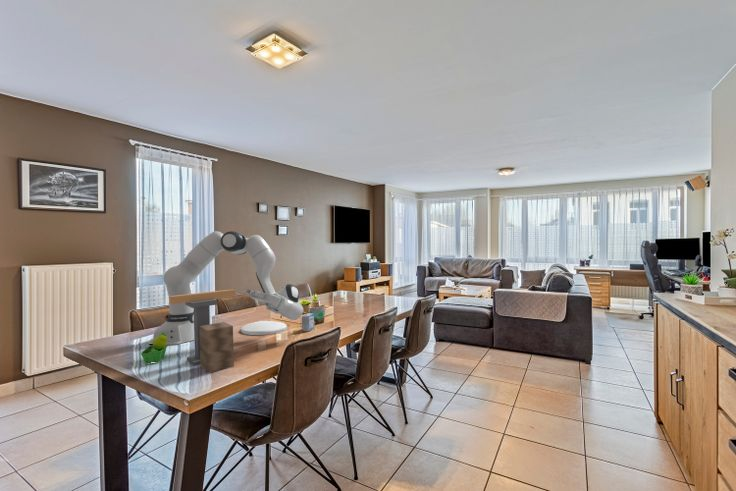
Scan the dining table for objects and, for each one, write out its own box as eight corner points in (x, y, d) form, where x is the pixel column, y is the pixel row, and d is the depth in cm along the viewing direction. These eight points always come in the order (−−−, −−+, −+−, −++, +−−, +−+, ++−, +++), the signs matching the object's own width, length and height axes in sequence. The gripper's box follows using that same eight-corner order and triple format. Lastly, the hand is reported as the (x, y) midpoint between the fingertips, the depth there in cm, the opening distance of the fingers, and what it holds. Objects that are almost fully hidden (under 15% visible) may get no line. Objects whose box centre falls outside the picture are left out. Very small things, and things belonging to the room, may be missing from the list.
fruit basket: (149, 357, 159) (148, 332, 159) (171, 355, 162) (170, 330, 162) (140, 365, 148) (139, 338, 148) (164, 363, 151) (163, 336, 151)
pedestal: (225, 360, 153) (224, 322, 153) (233, 366, 146) (232, 326, 145) (200, 366, 146) (199, 326, 146) (208, 372, 139) (207, 330, 139)
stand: (211, 354, 161) (209, 297, 160) (218, 360, 153) (217, 300, 153) (187, 360, 154) (185, 300, 154) (193, 366, 147) (191, 303, 146)
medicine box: (309, 331, 198) (309, 316, 198) (301, 331, 199) (301, 316, 198) (314, 328, 206) (314, 313, 205) (307, 328, 206) (306, 313, 206)
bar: (232, 295, 164) (232, 289, 164) (234, 296, 161) (234, 289, 161) (169, 303, 146) (168, 296, 146) (170, 304, 144) (170, 297, 144)
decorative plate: (295, 321, 206) (257, 330, 187) (295, 329, 206) (257, 338, 187) (270, 316, 222) (232, 324, 204) (270, 323, 223) (232, 331, 204)
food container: (317, 325, 211) (316, 309, 211) (309, 324, 214) (309, 308, 214) (330, 321, 222) (329, 305, 221) (322, 320, 225) (322, 304, 225)
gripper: (267, 294, 184) (244, 283, 176) (287, 298, 169) (263, 287, 161) (262, 306, 182) (238, 295, 174) (281, 311, 167) (256, 300, 159)
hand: (250, 291), depth 168 cm, fingers open, 8 cm apart
